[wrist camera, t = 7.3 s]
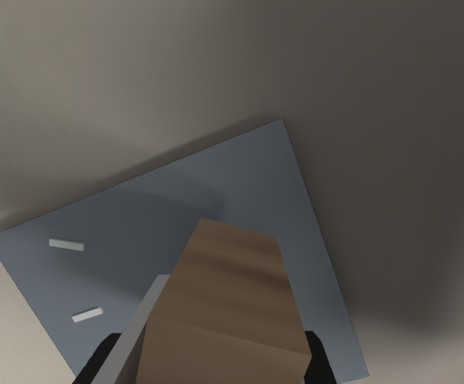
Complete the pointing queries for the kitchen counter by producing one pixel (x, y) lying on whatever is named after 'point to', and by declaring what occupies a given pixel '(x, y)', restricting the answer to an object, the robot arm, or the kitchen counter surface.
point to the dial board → (176, 245)
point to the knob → (225, 314)
